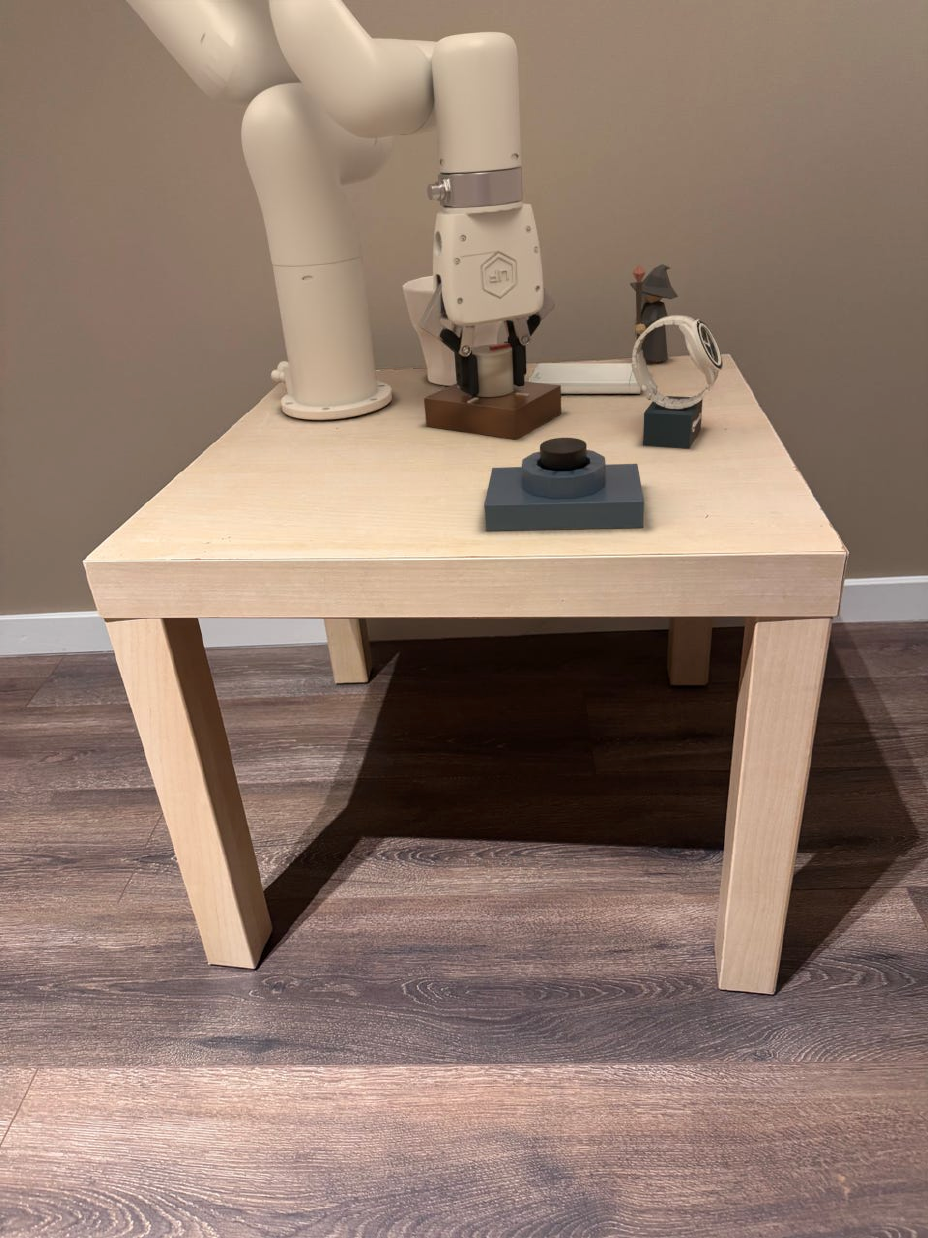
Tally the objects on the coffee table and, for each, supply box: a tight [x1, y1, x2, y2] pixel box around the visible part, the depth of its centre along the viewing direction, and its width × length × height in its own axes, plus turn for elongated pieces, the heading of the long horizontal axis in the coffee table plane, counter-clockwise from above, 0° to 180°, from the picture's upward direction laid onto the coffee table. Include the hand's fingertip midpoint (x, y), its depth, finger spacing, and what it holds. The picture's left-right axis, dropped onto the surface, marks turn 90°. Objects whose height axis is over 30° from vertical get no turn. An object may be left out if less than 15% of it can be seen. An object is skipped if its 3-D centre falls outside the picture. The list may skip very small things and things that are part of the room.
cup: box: [401, 275, 503, 387], centre depth 107 cm, size 12×12×11 cm
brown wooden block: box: [423, 381, 562, 440], centre depth 93 cm, size 11×9×3 cm
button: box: [539, 437, 588, 472], centre depth 70 cm, size 4×4×2 cm
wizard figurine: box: [630, 263, 679, 365], centre depth 106 cm, size 8×6×12 cm
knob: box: [472, 342, 514, 397], centre depth 91 cm, size 4×4×4 cm
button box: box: [483, 449, 645, 532], centre depth 72 cm, size 12×8×4 cm, turn 84°
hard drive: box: [527, 362, 642, 395], centre depth 103 cm, size 2×8×12 cm
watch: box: [630, 314, 724, 450], centre depth 83 cm, size 6×8×11 cm
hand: (492, 386), depth 92 cm, fingers closed on knob, 4 cm apart
